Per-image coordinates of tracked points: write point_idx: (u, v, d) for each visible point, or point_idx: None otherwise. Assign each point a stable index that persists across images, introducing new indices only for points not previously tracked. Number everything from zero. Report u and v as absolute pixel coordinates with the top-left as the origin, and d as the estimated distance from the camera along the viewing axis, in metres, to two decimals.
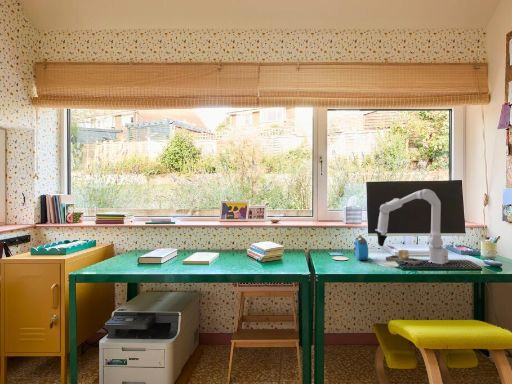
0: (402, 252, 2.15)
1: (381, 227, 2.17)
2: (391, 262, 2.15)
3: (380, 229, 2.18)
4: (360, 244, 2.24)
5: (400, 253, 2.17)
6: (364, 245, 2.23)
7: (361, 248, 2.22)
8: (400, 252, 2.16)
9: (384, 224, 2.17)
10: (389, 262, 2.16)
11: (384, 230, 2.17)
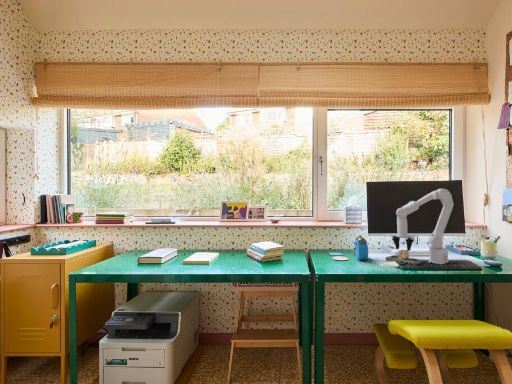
0: (402, 252, 2.15)
1: (405, 232, 2.14)
2: (391, 262, 2.15)
3: (404, 234, 2.14)
4: (360, 244, 2.24)
5: (400, 253, 2.17)
6: (364, 245, 2.23)
7: (361, 248, 2.22)
8: (400, 252, 2.16)
9: (406, 228, 2.15)
10: (389, 262, 2.16)
11: (407, 234, 2.15)
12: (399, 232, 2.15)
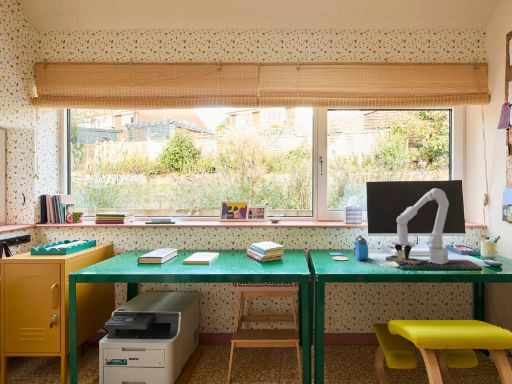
0: (402, 252, 2.15)
1: (405, 239, 2.14)
2: (391, 262, 2.15)
3: (405, 241, 2.14)
4: (360, 244, 2.24)
5: (400, 253, 2.17)
6: (364, 245, 2.23)
7: (361, 248, 2.22)
8: (400, 252, 2.16)
9: (407, 235, 2.15)
10: (389, 262, 2.16)
11: (407, 241, 2.15)
12: (399, 240, 2.15)
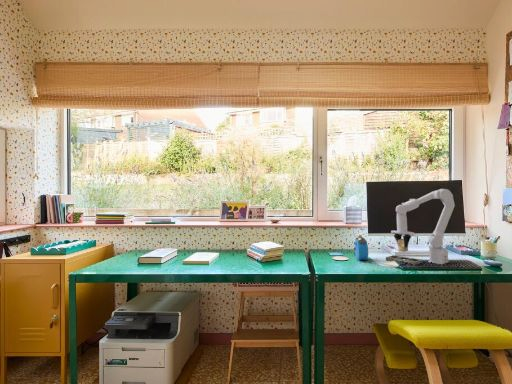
0: (401, 241, 2.15)
1: (405, 228, 2.14)
2: (391, 262, 2.15)
3: (404, 230, 2.14)
4: (360, 244, 2.24)
5: (399, 242, 2.16)
6: (364, 245, 2.23)
7: (361, 248, 2.22)
8: (399, 241, 2.16)
9: (406, 225, 2.15)
10: (389, 262, 2.16)
11: (407, 231, 2.15)
12: (399, 229, 2.15)
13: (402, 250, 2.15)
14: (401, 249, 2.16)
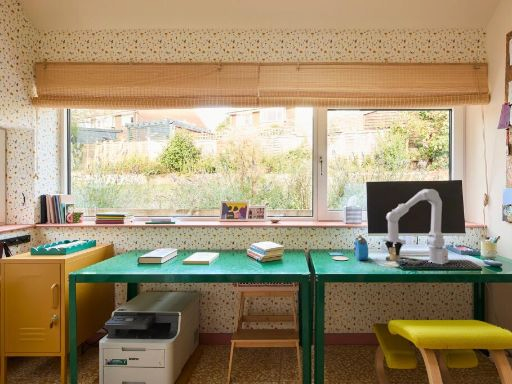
0: (393, 249, 2.10)
1: (396, 236, 2.09)
2: (391, 262, 2.15)
3: (395, 238, 2.09)
4: (360, 244, 2.24)
5: (391, 250, 2.12)
6: (364, 245, 2.23)
7: (361, 248, 2.22)
8: (391, 249, 2.12)
9: (397, 232, 2.10)
10: (389, 262, 2.16)
11: (398, 238, 2.10)
12: (390, 237, 2.10)
13: (394, 258, 2.10)
14: (393, 257, 2.11)
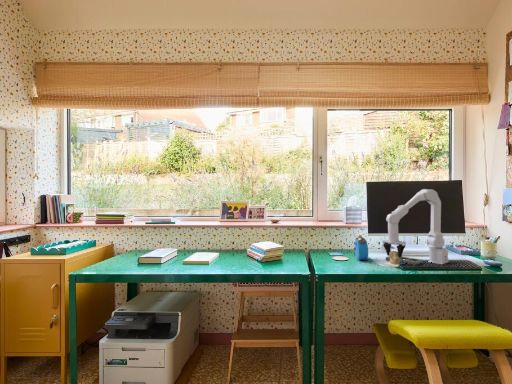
0: (393, 253, 2.11)
1: (396, 238, 2.09)
2: None
3: (395, 240, 2.09)
4: (360, 244, 2.24)
5: (391, 255, 2.12)
6: (364, 245, 2.23)
7: (361, 248, 2.22)
8: (391, 253, 2.12)
9: (398, 234, 2.10)
10: (389, 262, 2.16)
11: (398, 240, 2.10)
12: (390, 238, 2.10)
13: (394, 263, 2.10)
14: (393, 262, 2.11)
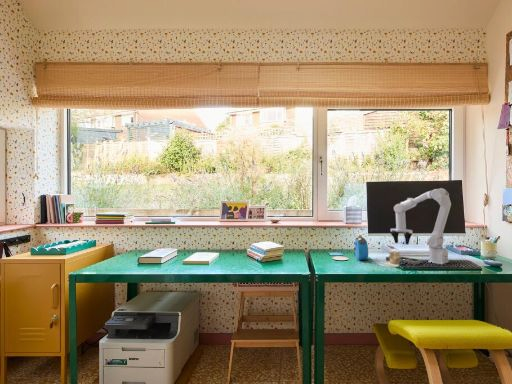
0: (393, 253, 2.11)
1: (403, 226, 2.23)
2: None
3: (403, 228, 2.23)
4: (360, 244, 2.24)
5: (391, 255, 2.12)
6: (364, 245, 2.23)
7: (361, 248, 2.22)
8: (391, 253, 2.12)
9: (405, 223, 2.24)
10: (389, 262, 2.16)
11: (405, 228, 2.24)
12: (398, 227, 2.24)
13: (394, 263, 2.10)
14: (393, 262, 2.11)
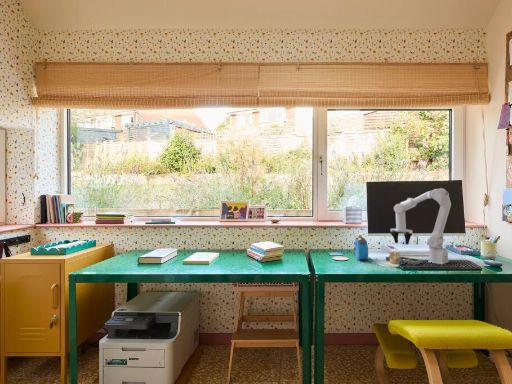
0: (393, 253, 2.11)
1: (403, 226, 2.23)
2: None
3: (403, 228, 2.23)
4: (360, 244, 2.24)
5: (391, 255, 2.12)
6: (364, 245, 2.23)
7: (361, 248, 2.22)
8: (391, 253, 2.12)
9: (405, 223, 2.24)
10: (389, 262, 2.16)
11: (405, 228, 2.24)
12: (398, 227, 2.24)
13: (394, 263, 2.10)
14: (393, 262, 2.11)
